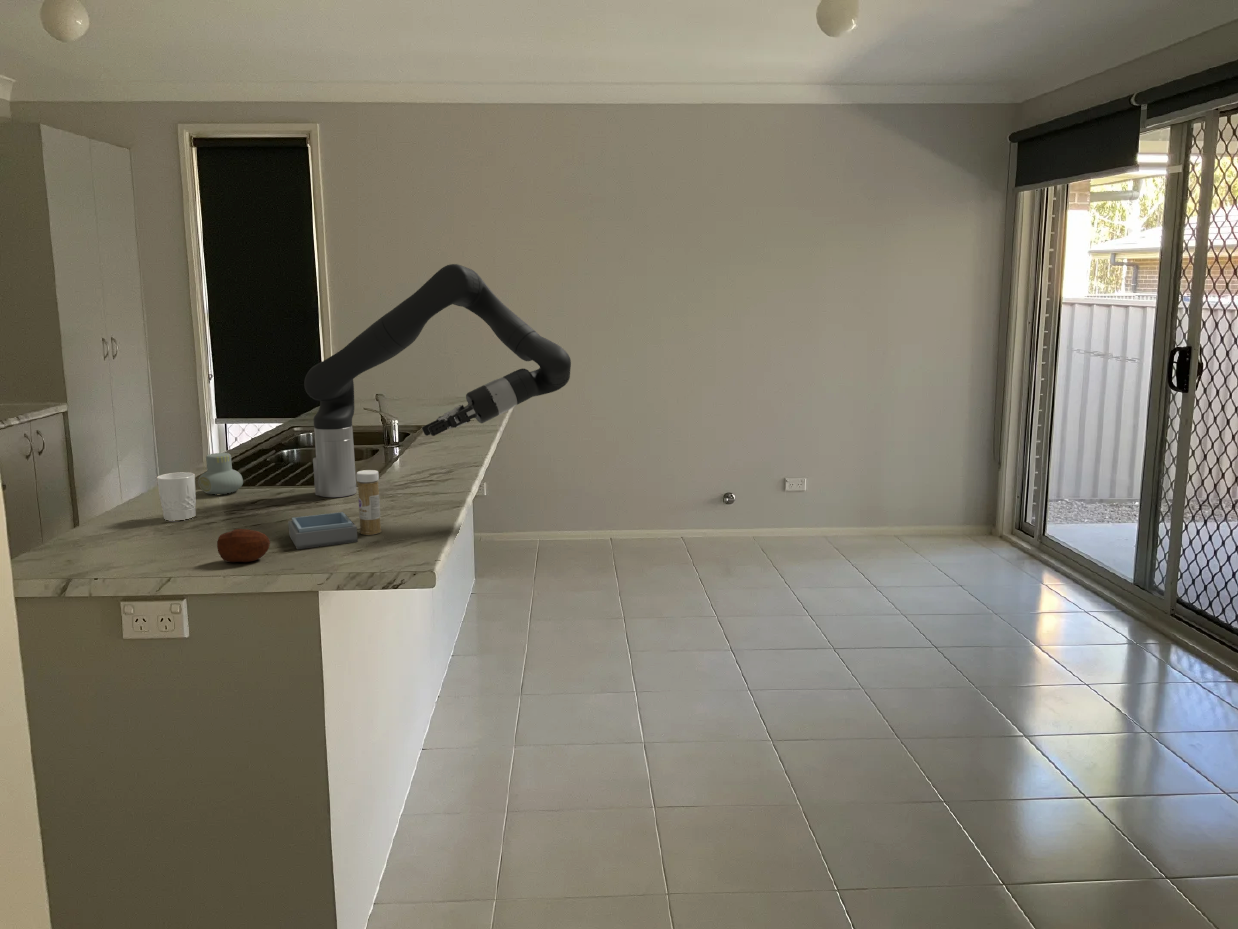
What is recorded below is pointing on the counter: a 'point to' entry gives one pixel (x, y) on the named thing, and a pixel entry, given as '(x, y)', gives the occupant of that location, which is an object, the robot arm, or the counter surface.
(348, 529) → the blue square tray
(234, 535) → the potato
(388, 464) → the counter surface
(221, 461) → the air freshener
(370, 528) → the sprinkles bottle
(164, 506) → the white cup
